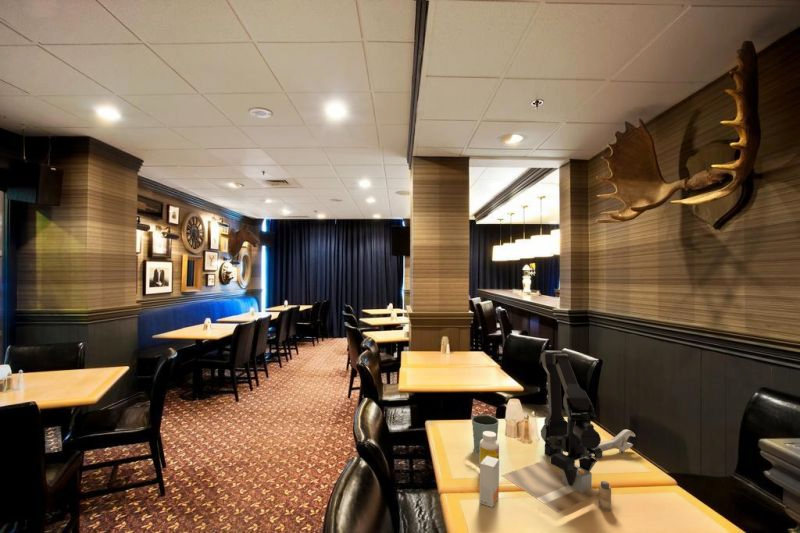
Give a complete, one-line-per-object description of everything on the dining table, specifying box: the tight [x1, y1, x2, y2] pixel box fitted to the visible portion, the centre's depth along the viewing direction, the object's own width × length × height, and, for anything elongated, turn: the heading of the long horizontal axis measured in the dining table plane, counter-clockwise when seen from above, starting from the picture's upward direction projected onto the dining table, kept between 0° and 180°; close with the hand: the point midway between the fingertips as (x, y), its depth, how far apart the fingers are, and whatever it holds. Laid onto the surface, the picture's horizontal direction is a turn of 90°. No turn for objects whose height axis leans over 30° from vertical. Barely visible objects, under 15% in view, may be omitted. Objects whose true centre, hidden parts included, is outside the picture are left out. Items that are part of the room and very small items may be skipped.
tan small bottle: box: [598, 480, 612, 512], centre depth 112 cm, size 3×3×7 cm
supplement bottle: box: [478, 431, 500, 469], centre depth 131 cm, size 7×7×13 cm
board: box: [501, 460, 599, 513], centre depth 122 cm, size 20×22×1 cm
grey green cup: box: [471, 414, 499, 454], centre depth 146 cm, size 10×10×12 cm
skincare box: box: [479, 456, 500, 508], centre depth 114 cm, size 6×4×12 cm
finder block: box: [561, 464, 593, 493], centre depth 121 cm, size 5×7×5 cm
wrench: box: [592, 429, 636, 456], centre depth 144 cm, size 8×2×30 cm
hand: (576, 482), depth 121 cm, fingers open, 6 cm apart
